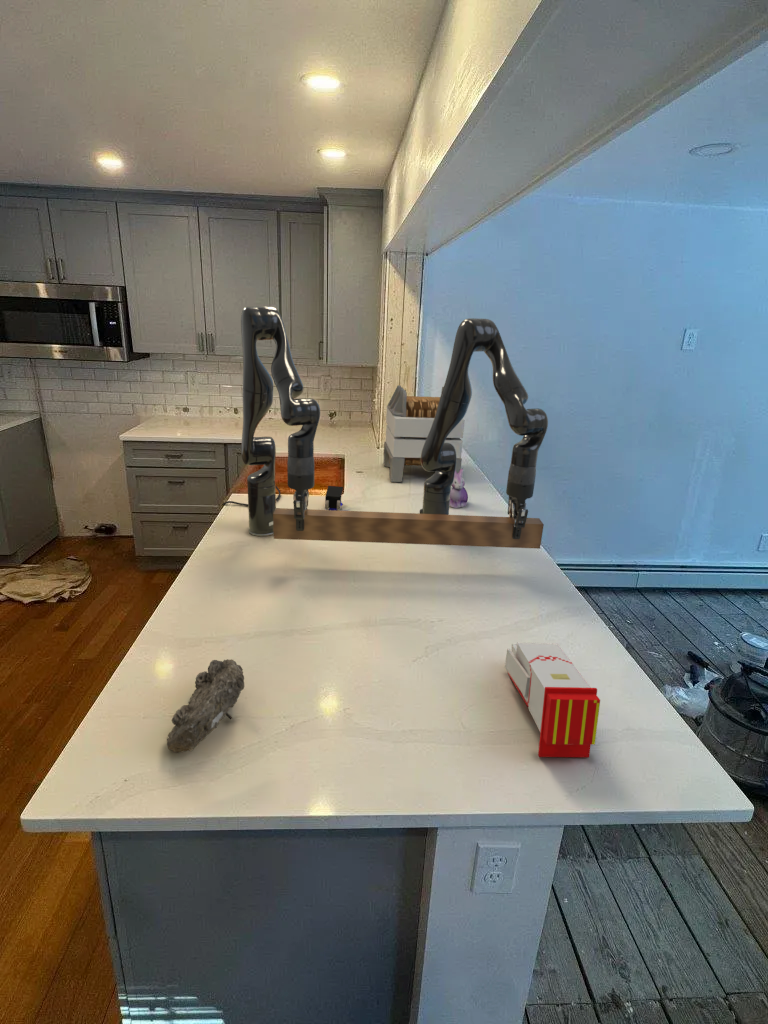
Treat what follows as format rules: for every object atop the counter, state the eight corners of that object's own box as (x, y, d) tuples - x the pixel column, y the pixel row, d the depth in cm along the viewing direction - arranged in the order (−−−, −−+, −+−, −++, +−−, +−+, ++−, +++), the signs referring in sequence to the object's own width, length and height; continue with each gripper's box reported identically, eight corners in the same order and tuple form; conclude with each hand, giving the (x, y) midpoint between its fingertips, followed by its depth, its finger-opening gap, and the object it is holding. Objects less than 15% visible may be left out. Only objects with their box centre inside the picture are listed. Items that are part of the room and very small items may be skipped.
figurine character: (341, 518, 215) (343, 501, 228) (341, 500, 212) (343, 484, 225) (323, 518, 215) (326, 501, 228) (323, 500, 211) (326, 484, 225)
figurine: (454, 509, 226) (458, 473, 221) (440, 502, 235) (443, 467, 229) (474, 507, 230) (477, 471, 225) (459, 499, 239) (463, 465, 234)
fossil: (192, 660, 117) (244, 628, 112) (224, 691, 120) (276, 661, 115) (142, 746, 98) (202, 712, 93) (182, 779, 101) (242, 748, 96)
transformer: (382, 463, 289) (386, 382, 275) (445, 464, 293) (451, 384, 279) (390, 482, 257) (394, 392, 243) (460, 483, 261) (468, 394, 247)
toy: (553, 625, 127) (610, 695, 97) (548, 680, 129) (601, 765, 100) (500, 624, 126) (540, 694, 97) (495, 679, 129) (533, 764, 100)
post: (535, 542, 170) (539, 518, 167) (540, 548, 165) (543, 524, 162) (276, 532, 168) (275, 507, 165) (273, 538, 163) (272, 513, 161)
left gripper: (291, 463, 165) (291, 517, 171) (283, 477, 152) (284, 535, 158) (317, 464, 166) (316, 518, 171) (311, 478, 152) (311, 537, 158)
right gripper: (502, 471, 167) (496, 525, 173) (513, 486, 153) (506, 544, 159) (528, 472, 167) (520, 526, 173) (541, 487, 154) (532, 545, 160)
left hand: (301, 526), depth 165 cm, fingers closed on post, 5 cm apart
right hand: (513, 534), depth 166 cm, fingers closed on post, 5 cm apart
